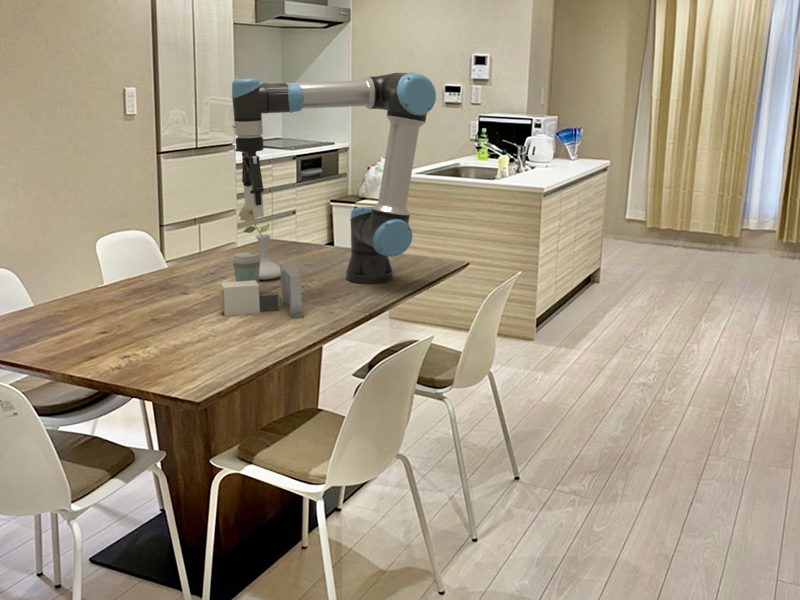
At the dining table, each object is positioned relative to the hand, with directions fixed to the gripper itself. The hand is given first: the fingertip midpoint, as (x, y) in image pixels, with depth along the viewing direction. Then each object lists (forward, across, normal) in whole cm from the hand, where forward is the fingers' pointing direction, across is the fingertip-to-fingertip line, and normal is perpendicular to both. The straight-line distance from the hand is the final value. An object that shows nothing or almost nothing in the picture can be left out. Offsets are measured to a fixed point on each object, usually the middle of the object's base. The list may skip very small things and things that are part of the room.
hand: (254, 212), depth 250 cm
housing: (+26, +10, +7) cm, 29 cm away
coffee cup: (+26, -11, -2) cm, 28 cm away
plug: (+26, +9, -5) cm, 28 cm away
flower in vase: (+26, -28, +6) cm, 39 cm away
